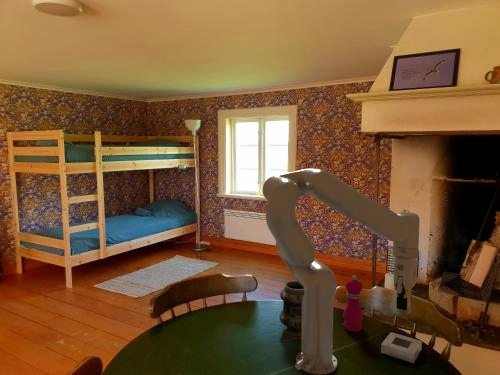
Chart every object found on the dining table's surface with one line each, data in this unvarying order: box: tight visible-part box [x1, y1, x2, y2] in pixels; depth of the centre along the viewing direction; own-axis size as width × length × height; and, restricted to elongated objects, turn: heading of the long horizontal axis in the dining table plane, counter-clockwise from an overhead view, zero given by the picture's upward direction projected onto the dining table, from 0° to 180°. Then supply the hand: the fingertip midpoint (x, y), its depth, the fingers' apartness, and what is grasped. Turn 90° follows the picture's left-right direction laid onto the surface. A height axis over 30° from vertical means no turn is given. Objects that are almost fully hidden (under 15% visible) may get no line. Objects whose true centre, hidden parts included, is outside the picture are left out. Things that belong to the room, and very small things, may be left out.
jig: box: [380, 331, 423, 364], centre depth 122 cm, size 10×10×3 cm
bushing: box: [396, 286, 412, 315], centre depth 120 cm, size 4×4×8 cm
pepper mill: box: [342, 274, 364, 332], centre depth 137 cm, size 7×7×20 cm
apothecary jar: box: [279, 280, 304, 340], centre depth 134 cm, size 12×12×18 cm
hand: (403, 305), depth 121 cm, fingers closed on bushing, 4 cm apart
